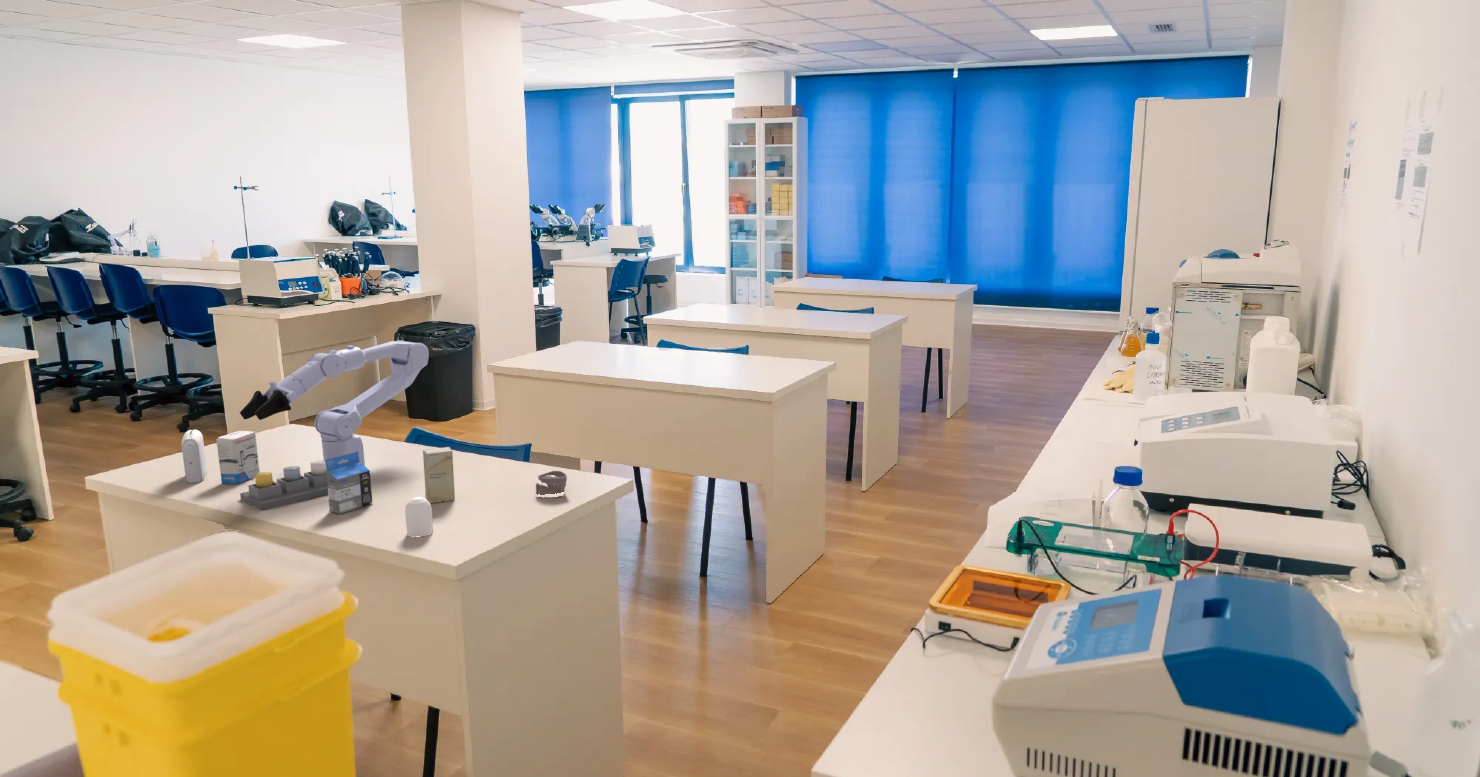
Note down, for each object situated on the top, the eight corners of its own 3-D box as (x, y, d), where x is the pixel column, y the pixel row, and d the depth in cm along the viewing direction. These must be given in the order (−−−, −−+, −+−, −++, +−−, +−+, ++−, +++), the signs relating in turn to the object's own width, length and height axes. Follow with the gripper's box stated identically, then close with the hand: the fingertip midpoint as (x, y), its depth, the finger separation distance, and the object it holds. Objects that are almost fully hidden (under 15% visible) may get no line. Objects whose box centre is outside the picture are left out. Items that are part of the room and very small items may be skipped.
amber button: (269, 482, 226) (268, 471, 226) (275, 485, 224) (274, 474, 224) (253, 485, 224) (252, 474, 223) (259, 488, 222) (258, 477, 221)
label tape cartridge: (339, 515, 215) (334, 462, 212) (329, 512, 217) (324, 460, 214) (373, 504, 222) (368, 453, 220) (362, 501, 224) (358, 450, 222)
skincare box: (428, 504, 222) (425, 454, 220) (425, 498, 226) (421, 449, 223) (456, 500, 225) (452, 450, 222) (452, 494, 229) (449, 446, 226)
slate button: (296, 476, 231) (295, 465, 231) (303, 479, 229) (302, 468, 228) (281, 479, 229) (280, 468, 228) (288, 482, 226) (287, 471, 226)
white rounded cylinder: (437, 528, 206) (434, 493, 204) (427, 537, 201) (425, 501, 199) (412, 528, 206) (410, 493, 204) (403, 537, 201) (400, 501, 199)
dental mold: (548, 501, 224) (547, 481, 223) (530, 495, 228) (529, 475, 227) (575, 493, 229) (574, 474, 228) (557, 487, 234) (556, 468, 233)
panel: (323, 480, 241) (322, 465, 240) (346, 490, 233) (344, 474, 232) (240, 499, 226) (238, 483, 225) (261, 510, 218) (259, 493, 217)
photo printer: (204, 482, 240) (198, 434, 237) (184, 484, 238) (178, 436, 236) (208, 471, 249) (203, 425, 247) (190, 473, 247) (184, 427, 245)
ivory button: (323, 470, 236) (322, 459, 235) (330, 473, 234) (328, 462, 233) (308, 473, 233) (307, 462, 233) (315, 476, 231) (314, 465, 230)
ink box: (237, 484, 237) (232, 439, 235) (220, 483, 238) (214, 438, 236) (261, 474, 246) (256, 430, 243) (244, 473, 247) (239, 429, 244)
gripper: (273, 371, 239) (226, 402, 230) (302, 370, 230) (254, 402, 221) (288, 394, 242) (243, 426, 233) (317, 394, 233) (271, 427, 224)
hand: (249, 416), depth 227 cm, fingers open, 7 cm apart
